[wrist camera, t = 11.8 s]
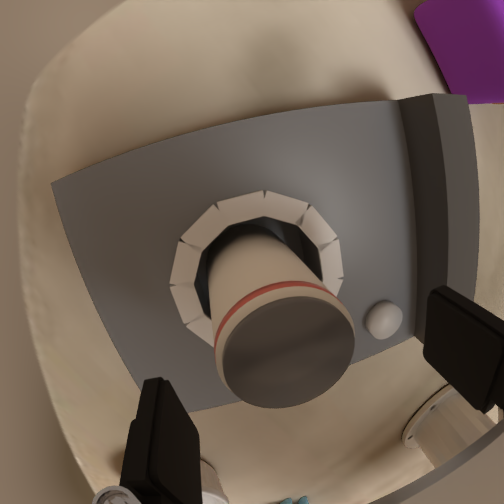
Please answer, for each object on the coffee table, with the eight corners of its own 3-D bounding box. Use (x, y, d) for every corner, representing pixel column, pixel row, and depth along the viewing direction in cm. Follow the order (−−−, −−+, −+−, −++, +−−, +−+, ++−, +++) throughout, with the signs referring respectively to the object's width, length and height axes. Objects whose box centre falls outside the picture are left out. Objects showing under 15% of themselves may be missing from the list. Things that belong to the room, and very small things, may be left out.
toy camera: (507, 72, 18) (574, 69, 9) (460, 126, 19) (554, 130, 10) (456, -12, 14) (520, -35, 5) (393, 17, 15) (480, -25, 6)
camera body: (396, 105, 18) (466, 95, 11) (414, 300, 23) (466, 339, 16) (79, 177, 16) (20, 189, 9) (161, 381, 21) (155, 451, 14)
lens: (280, 214, 18) (358, 275, 9) (293, 289, 19) (359, 385, 10) (196, 236, 17) (195, 321, 8) (218, 310, 19) (237, 424, 10)
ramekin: (242, 461, 26) (250, 499, 21) (197, 497, 28) (200, 529, 23) (142, 432, 23) (137, 476, 18) (113, 474, 25) (109, 508, 20)
